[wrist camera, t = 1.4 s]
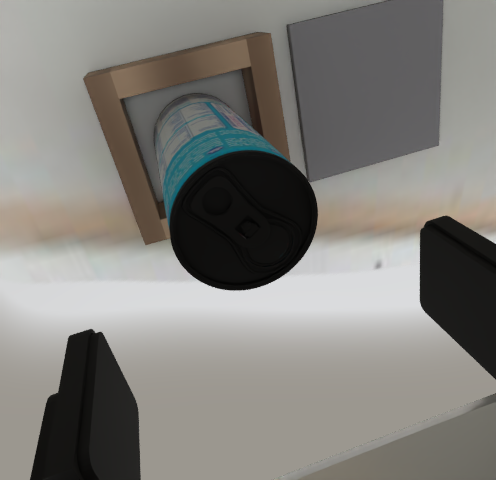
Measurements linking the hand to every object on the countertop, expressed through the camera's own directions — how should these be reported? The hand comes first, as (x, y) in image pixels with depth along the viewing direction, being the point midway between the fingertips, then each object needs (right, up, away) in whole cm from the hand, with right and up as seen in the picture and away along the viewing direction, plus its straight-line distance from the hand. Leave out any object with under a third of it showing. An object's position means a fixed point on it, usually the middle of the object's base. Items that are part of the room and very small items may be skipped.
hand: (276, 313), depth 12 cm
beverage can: (-4, +9, +18) cm, 20 cm away
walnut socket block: (-4, +9, +17) cm, 20 cm away
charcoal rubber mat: (+8, +13, +19) cm, 24 cm away
